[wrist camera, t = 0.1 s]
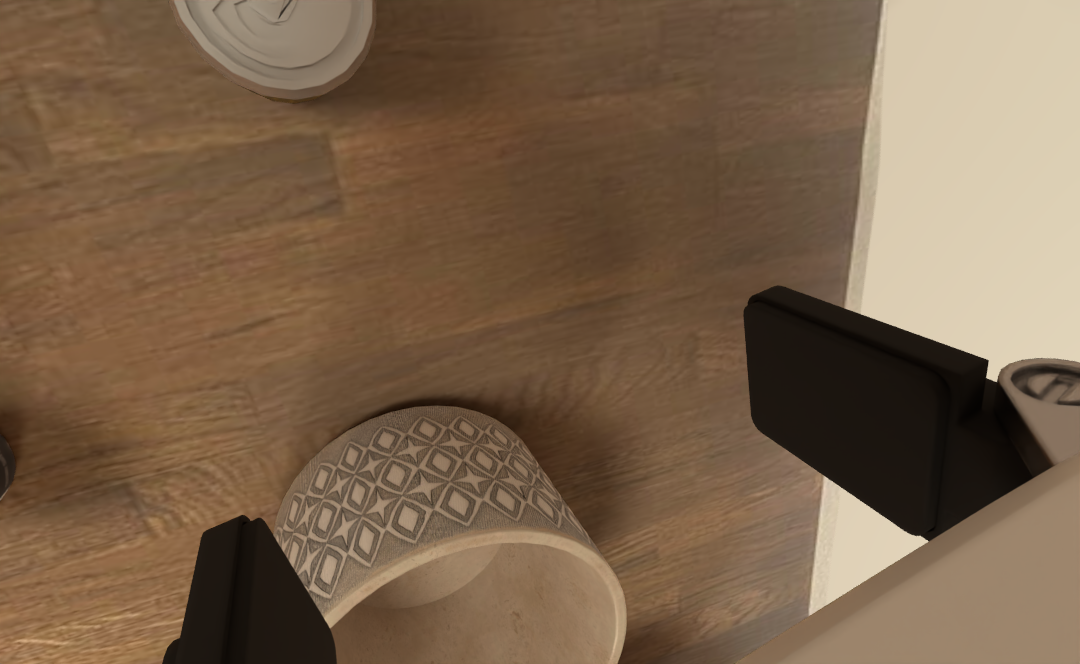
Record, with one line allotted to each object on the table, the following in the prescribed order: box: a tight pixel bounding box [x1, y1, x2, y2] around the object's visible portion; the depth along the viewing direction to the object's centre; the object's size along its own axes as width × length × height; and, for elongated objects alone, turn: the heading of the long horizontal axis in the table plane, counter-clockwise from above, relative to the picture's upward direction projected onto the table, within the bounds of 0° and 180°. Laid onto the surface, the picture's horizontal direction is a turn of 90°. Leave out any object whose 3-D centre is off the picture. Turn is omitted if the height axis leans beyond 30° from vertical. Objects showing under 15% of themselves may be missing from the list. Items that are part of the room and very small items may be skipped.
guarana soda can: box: [168, 0, 376, 104], centre depth 20 cm, size 5×5×12 cm
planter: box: [273, 405, 627, 664], centre depth 31 cm, size 16×16×13 cm
